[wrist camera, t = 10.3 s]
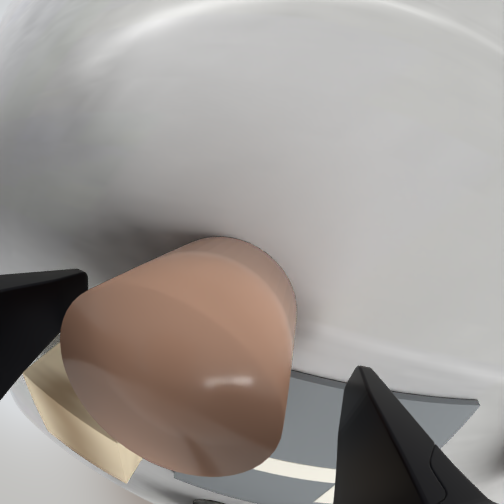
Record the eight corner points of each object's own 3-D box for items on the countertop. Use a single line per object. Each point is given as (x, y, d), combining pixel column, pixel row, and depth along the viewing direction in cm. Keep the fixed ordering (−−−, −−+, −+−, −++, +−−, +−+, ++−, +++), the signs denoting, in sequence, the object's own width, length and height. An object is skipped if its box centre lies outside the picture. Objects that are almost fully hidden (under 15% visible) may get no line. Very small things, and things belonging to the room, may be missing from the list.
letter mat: (477, 400, 9) (480, 405, 8) (352, 510, 13) (352, 514, 13) (190, 337, 10) (186, 344, 10) (176, 474, 15) (173, 478, 15)
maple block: (157, 387, 12) (117, 443, 8) (153, 440, 14) (126, 483, 10) (68, 335, 13) (22, 372, 9) (80, 397, 15) (48, 431, 11)
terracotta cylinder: (318, 263, 9) (330, 348, 4) (271, 386, 10) (244, 495, 5) (170, 218, 9) (56, 246, 4) (151, 341, 10) (73, 417, 6)
